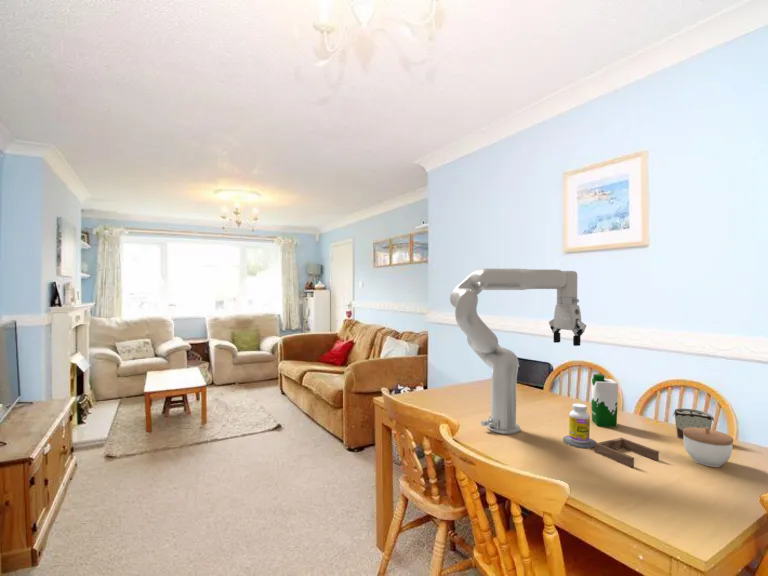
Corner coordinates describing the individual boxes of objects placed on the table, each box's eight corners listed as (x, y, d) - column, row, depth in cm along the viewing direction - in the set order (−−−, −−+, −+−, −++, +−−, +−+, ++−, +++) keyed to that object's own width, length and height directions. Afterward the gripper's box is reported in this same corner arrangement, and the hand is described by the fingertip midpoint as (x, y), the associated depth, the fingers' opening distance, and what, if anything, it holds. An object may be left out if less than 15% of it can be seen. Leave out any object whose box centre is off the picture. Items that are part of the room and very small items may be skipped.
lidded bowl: (736, 474, 121) (737, 438, 121) (684, 464, 127) (684, 430, 127) (728, 459, 131) (728, 425, 131) (680, 451, 138) (681, 418, 138)
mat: (581, 450, 138) (581, 448, 138) (556, 439, 148) (556, 437, 148) (604, 445, 142) (604, 443, 142) (577, 435, 152) (577, 433, 152)
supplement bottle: (575, 444, 142) (575, 408, 141) (565, 437, 148) (565, 402, 148) (593, 443, 142) (593, 407, 142) (582, 436, 149) (583, 402, 149)
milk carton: (589, 419, 170) (589, 372, 170) (612, 421, 168) (612, 373, 168) (595, 426, 161) (595, 377, 161) (620, 428, 160) (620, 378, 159)
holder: (631, 467, 125) (631, 458, 125) (594, 452, 136) (594, 443, 136) (658, 460, 130) (658, 451, 130) (621, 446, 142) (621, 437, 142)
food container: (708, 437, 151) (708, 410, 151) (714, 442, 145) (714, 415, 145) (669, 432, 156) (669, 406, 156) (672, 437, 150) (673, 410, 150)
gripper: (592, 302, 155) (592, 346, 155) (556, 300, 171) (556, 340, 171) (578, 302, 152) (578, 347, 152) (543, 300, 168) (543, 341, 168)
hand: (566, 344), depth 161 cm, fingers open, 9 cm apart
